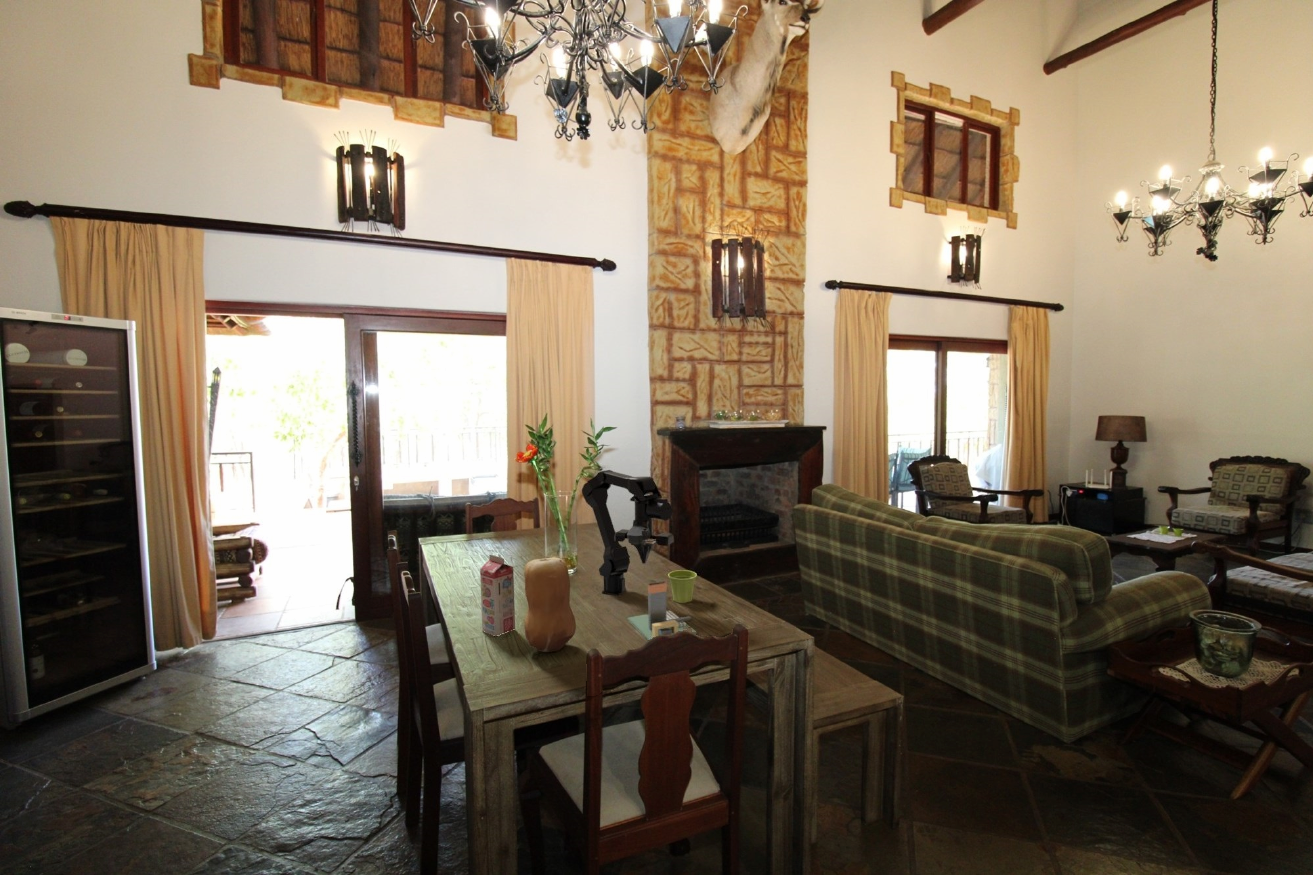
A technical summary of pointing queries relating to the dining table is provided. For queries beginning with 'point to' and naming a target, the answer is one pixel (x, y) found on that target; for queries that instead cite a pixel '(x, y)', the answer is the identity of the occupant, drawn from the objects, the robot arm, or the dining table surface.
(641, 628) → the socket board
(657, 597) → the orange-rimmed grey tower
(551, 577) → the butternut squash
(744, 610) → the dining table surface
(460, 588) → the dining table surface
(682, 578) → the plant pot
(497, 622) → the juice carton
